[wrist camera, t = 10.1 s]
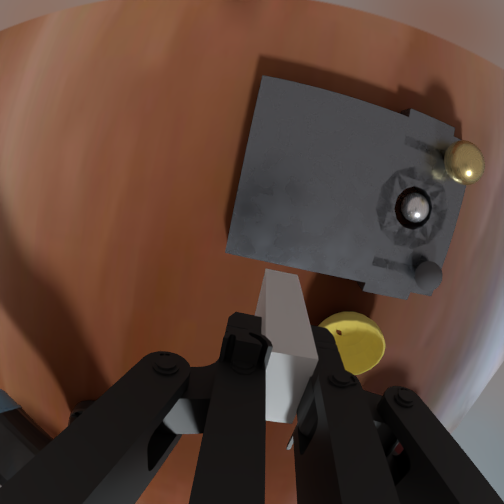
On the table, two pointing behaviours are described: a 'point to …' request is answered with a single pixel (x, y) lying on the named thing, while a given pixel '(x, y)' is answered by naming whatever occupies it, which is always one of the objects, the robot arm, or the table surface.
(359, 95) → the table surface
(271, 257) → the grey flat slab
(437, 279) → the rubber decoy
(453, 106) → the table surface
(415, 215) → the steel ball
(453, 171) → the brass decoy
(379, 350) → the ladle
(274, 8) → the table surface
